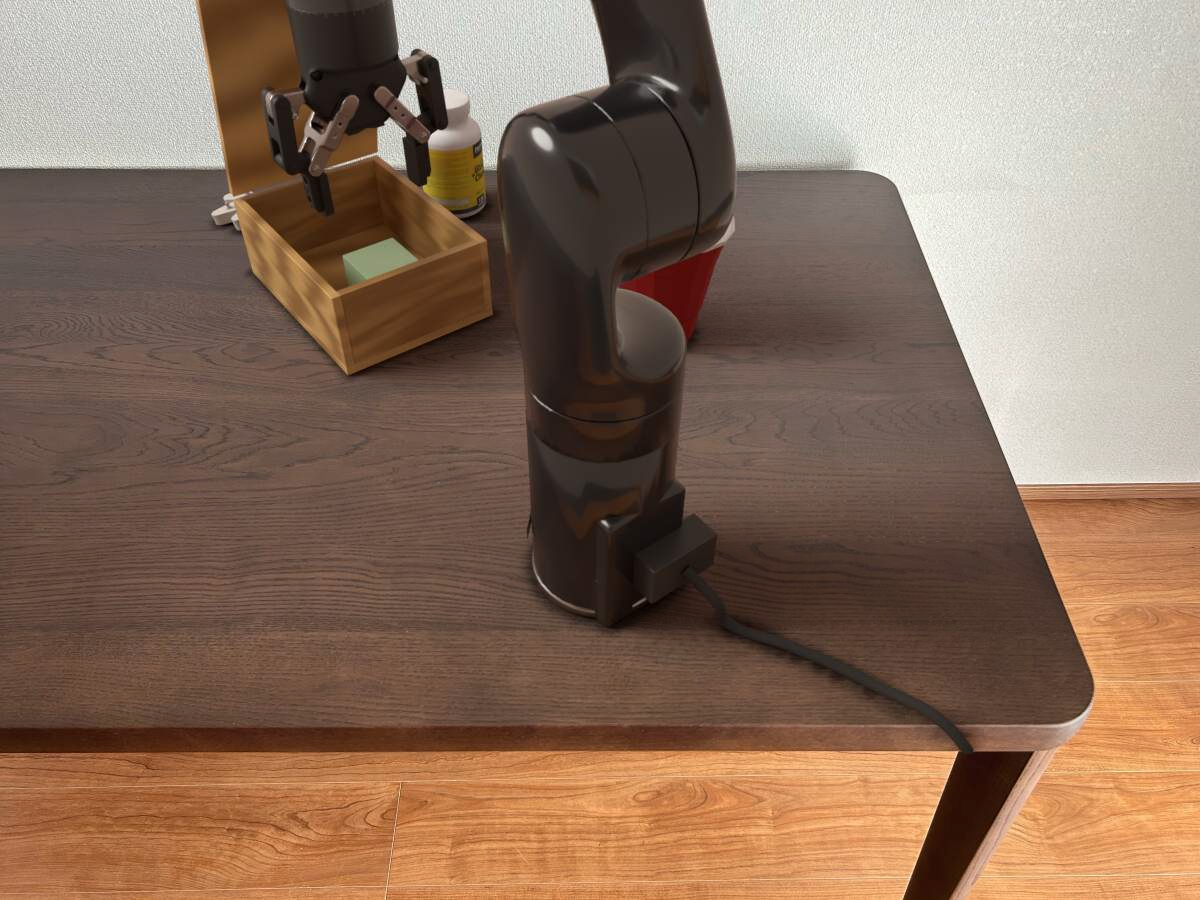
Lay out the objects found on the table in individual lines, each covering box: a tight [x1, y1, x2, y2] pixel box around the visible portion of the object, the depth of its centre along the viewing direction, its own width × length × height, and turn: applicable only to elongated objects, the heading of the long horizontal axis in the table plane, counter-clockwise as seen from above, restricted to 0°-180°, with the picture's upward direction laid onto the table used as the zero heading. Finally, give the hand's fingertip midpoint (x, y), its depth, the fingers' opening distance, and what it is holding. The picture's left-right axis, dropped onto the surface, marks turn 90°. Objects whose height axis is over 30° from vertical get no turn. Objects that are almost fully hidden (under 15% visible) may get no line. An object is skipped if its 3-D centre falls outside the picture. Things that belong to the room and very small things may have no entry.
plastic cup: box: [618, 216, 736, 343], centre depth 83 cm, size 11×11×12 cm
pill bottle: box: [422, 88, 487, 219], centre depth 99 cm, size 6×6×12 cm
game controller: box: [211, 191, 254, 231], centre depth 101 cm, size 6×12×3 cm, turn 134°
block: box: [343, 238, 418, 287], centre depth 86 cm, size 5×5×5 cm
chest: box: [233, 154, 494, 376], centre depth 88 cm, size 20×15×8 cm
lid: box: [194, 0, 379, 197], centre depth 82 cm, size 20×15×1 cm
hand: (373, 197), depth 80 cm, fingers open, 8 cm apart
